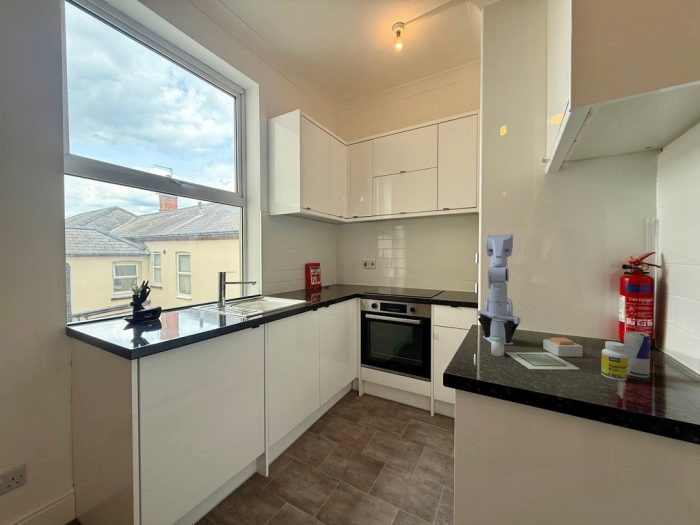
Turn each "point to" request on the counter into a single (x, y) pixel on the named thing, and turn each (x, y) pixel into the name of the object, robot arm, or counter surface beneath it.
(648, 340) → the energy drink
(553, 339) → the button
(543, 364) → the picture board
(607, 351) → the supplement bottle
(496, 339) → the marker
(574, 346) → the button housing
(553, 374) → the counter surface
